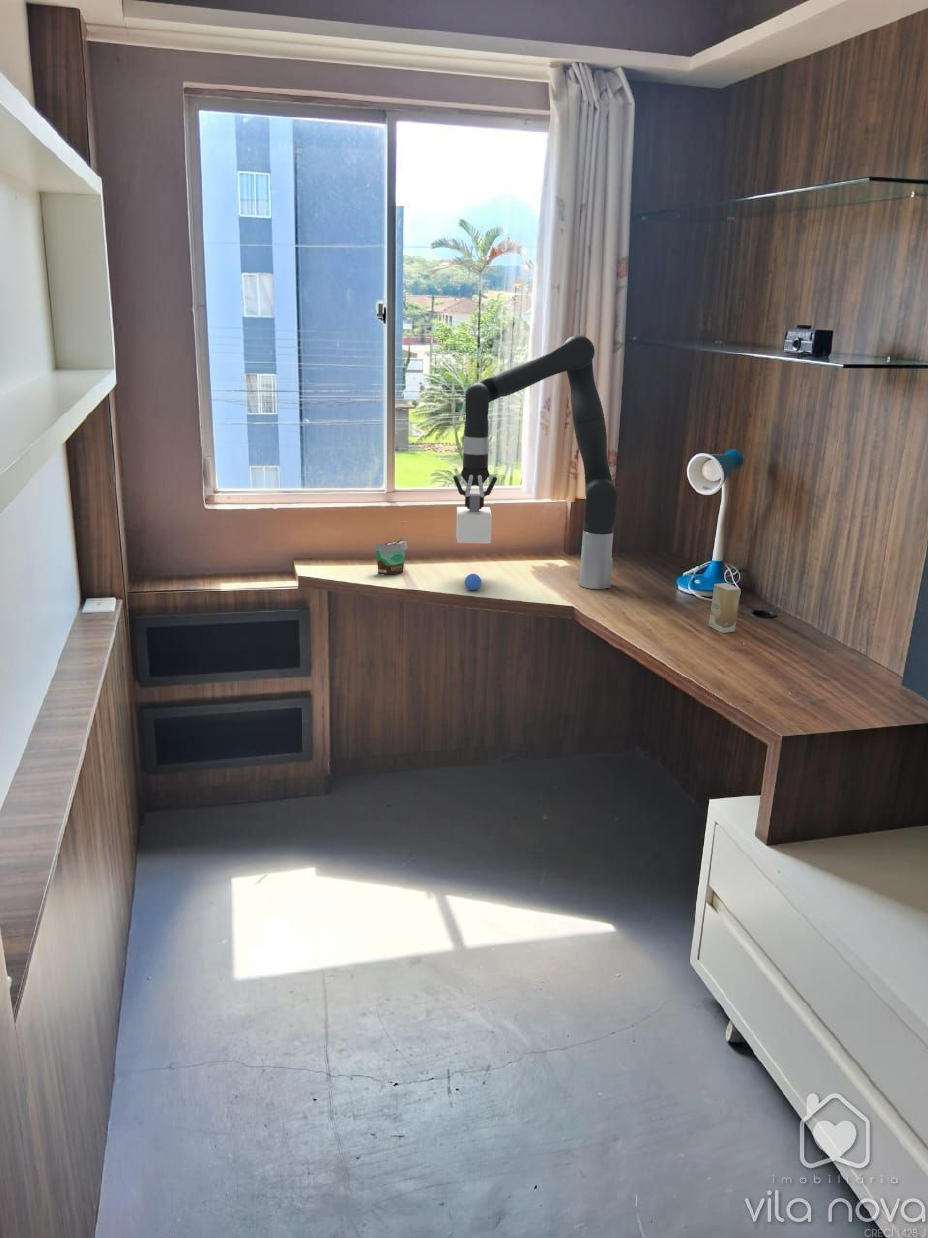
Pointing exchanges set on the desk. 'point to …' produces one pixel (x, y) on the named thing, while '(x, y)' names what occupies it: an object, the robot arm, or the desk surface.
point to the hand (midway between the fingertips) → (474, 508)
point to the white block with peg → (474, 522)
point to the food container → (391, 557)
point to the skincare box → (724, 607)
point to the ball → (472, 582)
